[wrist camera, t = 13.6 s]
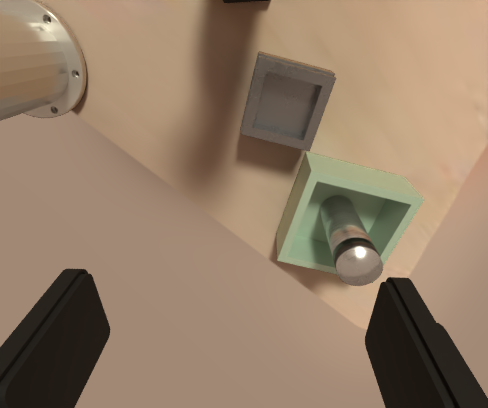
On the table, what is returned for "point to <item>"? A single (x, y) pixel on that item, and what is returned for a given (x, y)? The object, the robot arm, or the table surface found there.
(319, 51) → the table surface
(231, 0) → the mechanical leg
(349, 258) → the strut
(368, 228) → the bin
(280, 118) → the socket block
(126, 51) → the table surface
